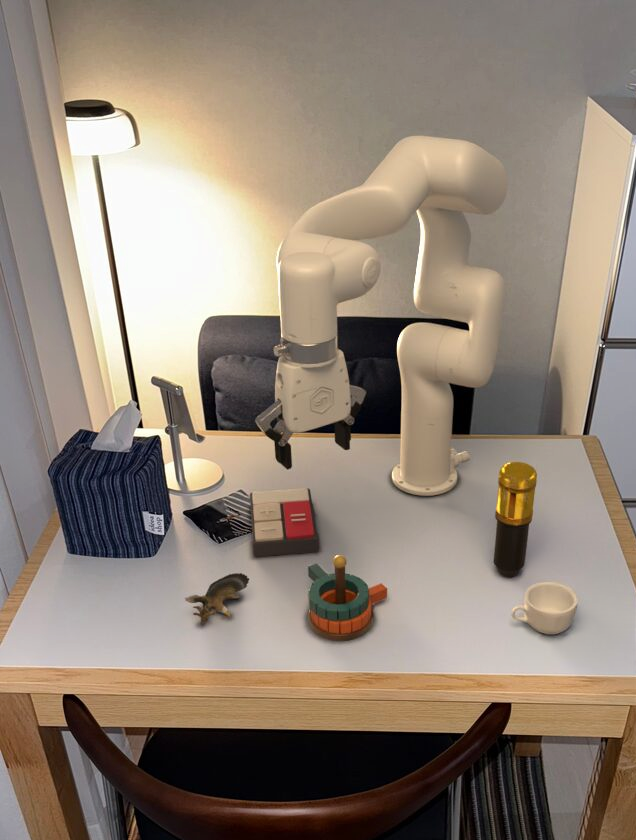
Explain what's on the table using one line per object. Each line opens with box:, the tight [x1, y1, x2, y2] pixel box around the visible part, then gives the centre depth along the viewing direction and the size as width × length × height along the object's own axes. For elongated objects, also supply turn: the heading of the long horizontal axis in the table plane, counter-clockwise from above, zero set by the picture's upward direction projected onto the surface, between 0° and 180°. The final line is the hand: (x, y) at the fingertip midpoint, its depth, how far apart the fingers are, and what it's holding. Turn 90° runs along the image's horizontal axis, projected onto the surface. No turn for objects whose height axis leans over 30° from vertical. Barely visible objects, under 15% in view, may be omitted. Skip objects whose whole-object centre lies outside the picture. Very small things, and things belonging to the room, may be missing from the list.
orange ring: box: [311, 583, 388, 634], centre depth 140 cm, size 13×9×2 cm
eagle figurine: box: [184, 572, 250, 626], centre depth 141 cm, size 8×7×9 cm
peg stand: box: [308, 554, 374, 642], centre depth 138 cm, size 10×10×12 cm
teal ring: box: [307, 563, 370, 621], centre depth 140 cm, size 13×9×2 cm
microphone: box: [493, 461, 538, 578], centre depth 146 cm, size 6×13×20 cm, turn 108°
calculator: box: [249, 487, 319, 558], centre depth 160 cm, size 11×4×15 cm
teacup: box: [510, 581, 579, 635], centre depth 138 cm, size 10×8×5 cm
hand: (314, 455), depth 132 cm, fingers open, 9 cm apart
